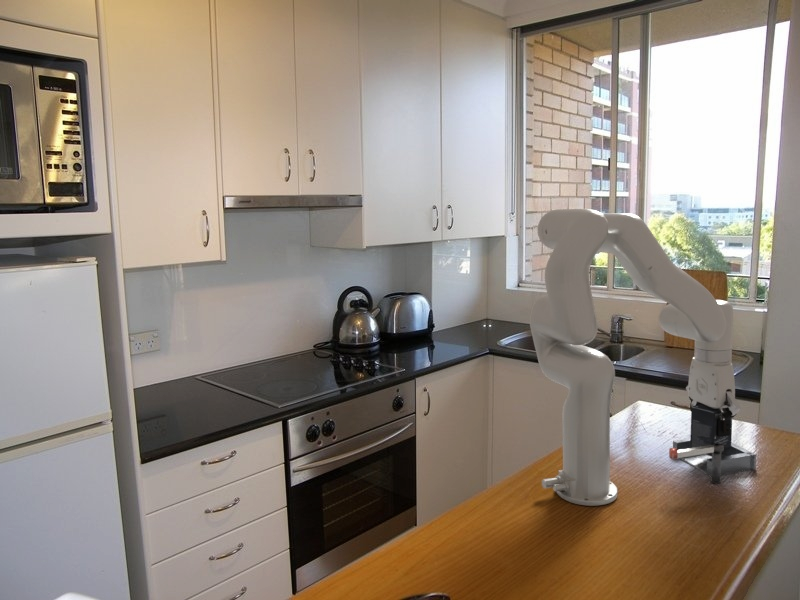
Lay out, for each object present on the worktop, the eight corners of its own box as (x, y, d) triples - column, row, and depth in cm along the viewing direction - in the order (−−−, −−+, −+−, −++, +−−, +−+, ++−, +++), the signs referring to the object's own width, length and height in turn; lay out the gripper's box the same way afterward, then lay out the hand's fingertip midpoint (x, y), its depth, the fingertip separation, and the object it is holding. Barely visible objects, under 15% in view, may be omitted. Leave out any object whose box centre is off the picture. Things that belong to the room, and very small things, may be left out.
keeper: (715, 484, 133) (716, 453, 132) (665, 455, 148) (666, 427, 147) (767, 475, 136) (769, 445, 135) (713, 447, 151) (714, 420, 150)
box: (713, 457, 139) (714, 412, 137) (689, 450, 144) (690, 406, 142) (732, 448, 143) (733, 404, 141) (708, 441, 148) (709, 398, 146)
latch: (674, 460, 129) (674, 452, 129) (666, 455, 131) (666, 447, 131) (726, 451, 132) (726, 443, 131) (717, 447, 134) (717, 439, 134)
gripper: (673, 348, 147) (672, 419, 150) (727, 366, 130) (725, 446, 133) (700, 344, 149) (699, 415, 152) (757, 362, 132) (754, 441, 135)
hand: (711, 429), depth 143 cm, fingers closed on box, 7 cm apart
